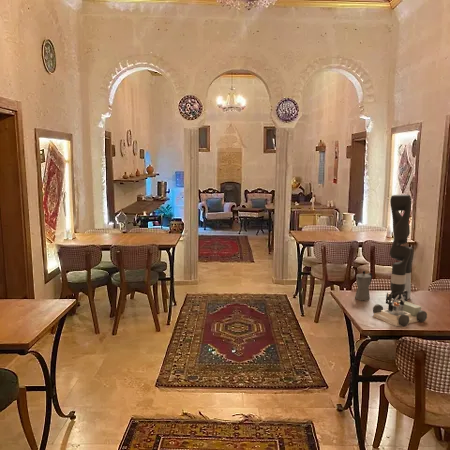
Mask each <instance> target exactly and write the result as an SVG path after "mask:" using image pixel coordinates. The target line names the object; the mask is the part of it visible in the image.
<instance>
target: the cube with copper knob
mask: <svg viewBox="0 0 450 450" xmlns="http://www.w3.org/2000/svg"><path fill="white" fill-rule="evenodd" d="M403 311H404V305H401V304H399V303H398V301H397V302H394V303H393V311H392V312H390V311H389V310H388V313H390V314H393V315H395V316H399V315H402V314H403Z"/></svg>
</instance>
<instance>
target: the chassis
mask: <svg viewBox="0 0 450 450" xmlns="http://www.w3.org/2000/svg"><path fill="white" fill-rule="evenodd" d="M396 302H398V303H399V304H400V300H399V301H398V300H396ZM372 314H373V317H374V318H377V319H378V320H380V321H384V322H386V323H388V324H390V325H392V326H394V327H400V326H401V327H406V326H408V325H409V324H413V323H416V322H421V323H424V322H425V321H426V320H427V318H428V312H427V311H424V310H422V306H420V305H418V304H415V303H412V302H410V301H408V300H407V301H405V303H404V311H403V314H402V315H399V316H395V315H393V314H390V313H388V308H387V309H384V308H383V305H381V304H375V305H373V307H372Z"/></svg>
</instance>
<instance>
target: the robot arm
mask: <svg viewBox="0 0 450 450" xmlns="http://www.w3.org/2000/svg"><path fill="white" fill-rule="evenodd" d="M389 202H390V203H389V204H390V208H391V216H392V231H393V232H392V233H393V242H392V244H391V247H390V250H389V256H390V258H392V259H395V260H396V261H398V262H393V263H392V264H391V265H392V267H391V275H390V287H389V288H390V291H391V292H387V293H386V295H385V304H387V305H388V308H387V309H388V310H389V311H390V312H392V311H393V303H394V302H396V301H398V300H399V301H400V304H401V305H404V303H405V301H407V302H408V300H409V299H411V293H412V282H411V279H412V268H413V258H414V248H413V247H411V246H407V245H405V246H404V244H406V243H408V239H409V236H410V232H411V230H410V224H409V223H410V217H411V212H412V211H411V210H412V197H411V195H410V194H393V195H391V197H390V201H389ZM399 211H402V212H403V211H404V212H403V215H402V214H401V213H400V212H399Z"/></svg>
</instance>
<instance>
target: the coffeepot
mask: <svg viewBox="0 0 450 450" xmlns="http://www.w3.org/2000/svg"><path fill="white" fill-rule="evenodd" d="M355 278H356V286H357V288H356V292H355V296H354V298H355V299H356V300H357V299H358V301H361V300H368V301H369V300H370V299H371V297H370V289H369V288H370V286H371V283H372V278H373V274H372V273H371V272H369V273H366V270H363V271H362V273H357V274H356V275H355Z"/></svg>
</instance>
